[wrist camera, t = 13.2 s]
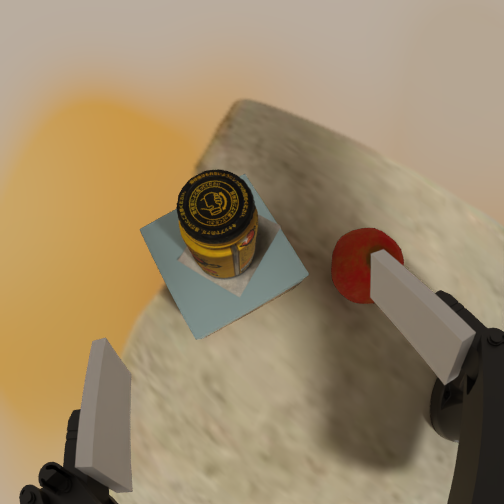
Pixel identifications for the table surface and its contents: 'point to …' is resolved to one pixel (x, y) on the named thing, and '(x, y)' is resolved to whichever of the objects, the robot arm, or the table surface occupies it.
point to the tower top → (207, 292)
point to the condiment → (222, 229)
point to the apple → (359, 262)
